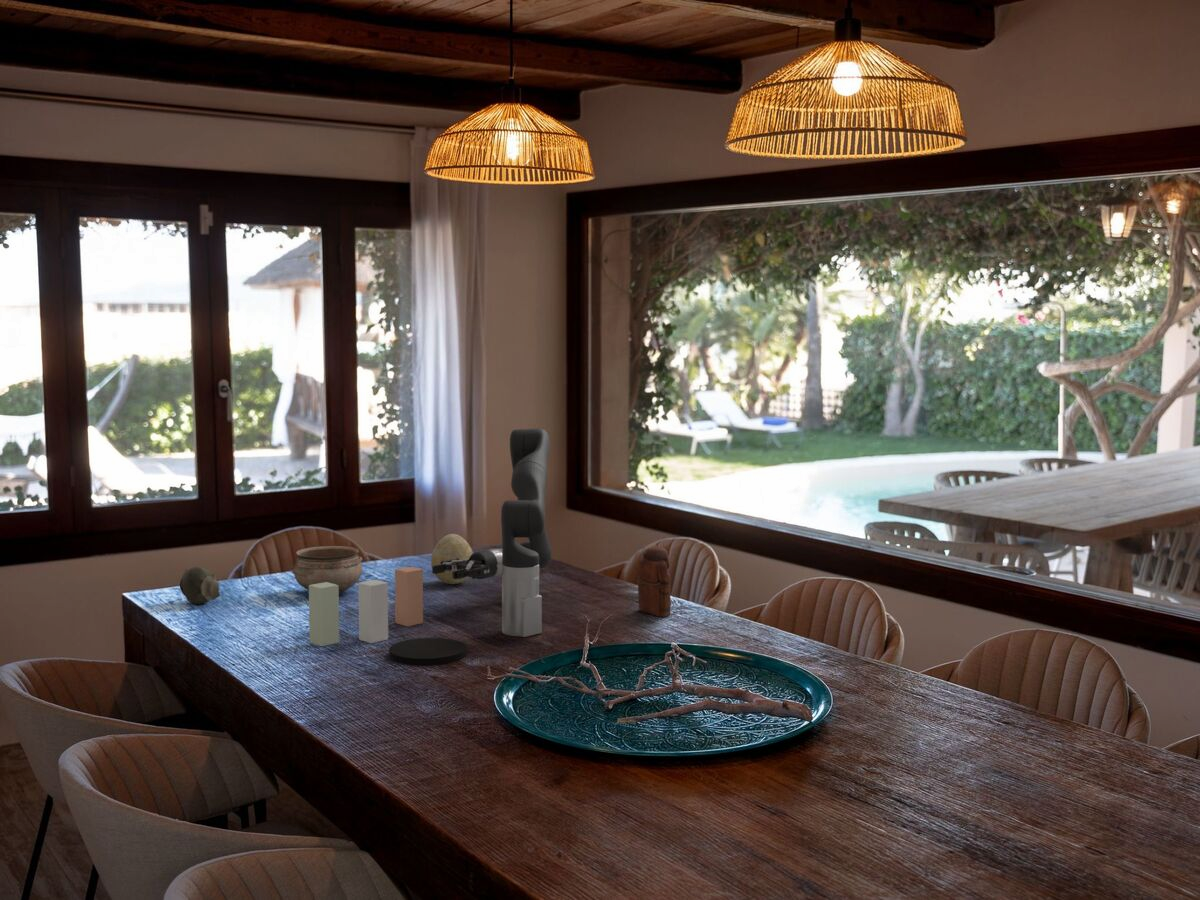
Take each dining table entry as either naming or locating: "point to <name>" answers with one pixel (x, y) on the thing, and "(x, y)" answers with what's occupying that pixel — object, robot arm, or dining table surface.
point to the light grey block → (373, 611)
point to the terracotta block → (409, 596)
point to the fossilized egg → (450, 555)
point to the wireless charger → (428, 651)
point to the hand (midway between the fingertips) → (443, 572)
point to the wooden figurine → (654, 582)
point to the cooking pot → (328, 566)
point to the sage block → (324, 613)
